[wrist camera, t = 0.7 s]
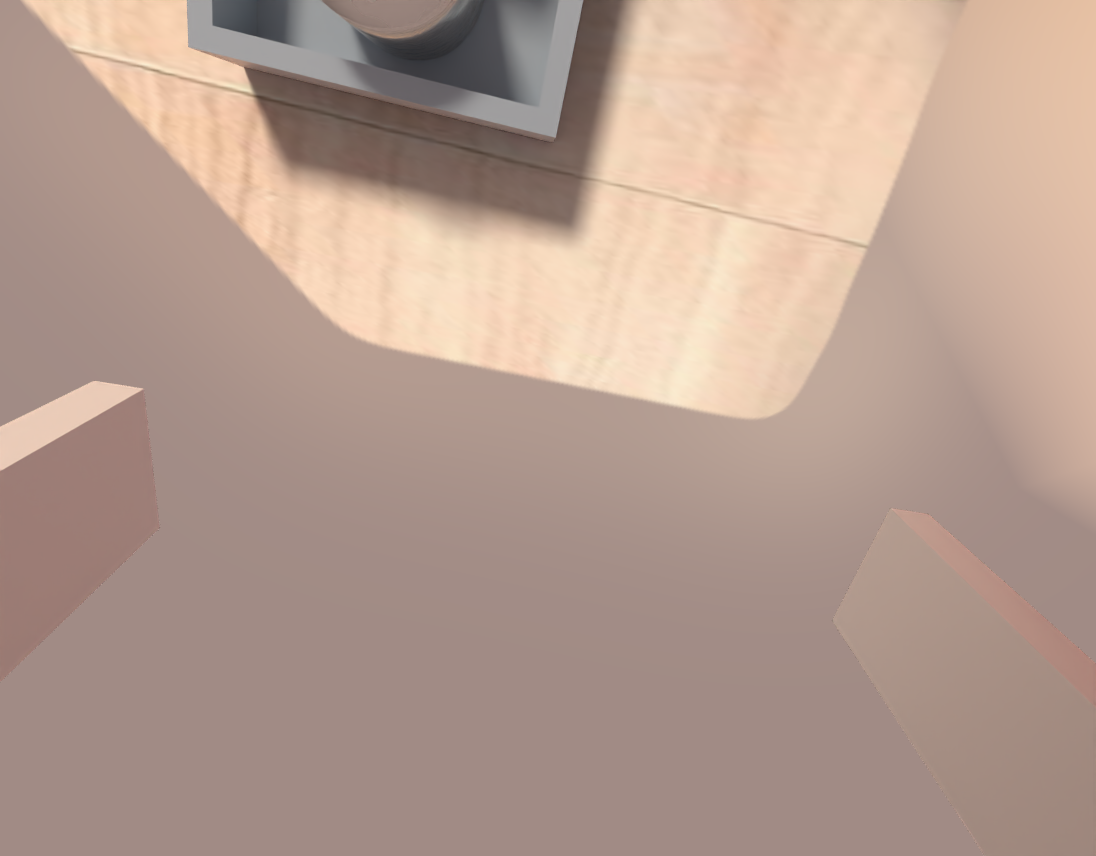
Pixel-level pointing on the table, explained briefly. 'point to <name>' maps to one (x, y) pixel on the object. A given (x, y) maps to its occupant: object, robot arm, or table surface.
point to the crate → (432, 85)
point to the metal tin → (411, 24)
